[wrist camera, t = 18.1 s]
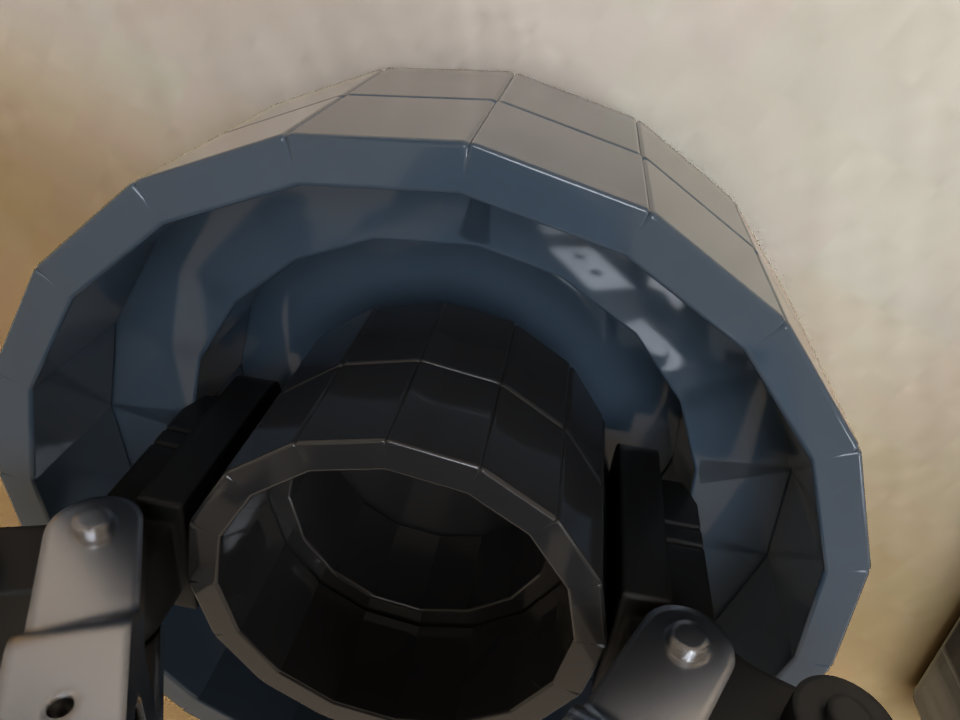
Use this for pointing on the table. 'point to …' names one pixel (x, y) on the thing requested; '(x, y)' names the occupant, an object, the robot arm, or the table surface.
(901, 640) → the table surface
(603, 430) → the black cup
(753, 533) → the grey bowl
